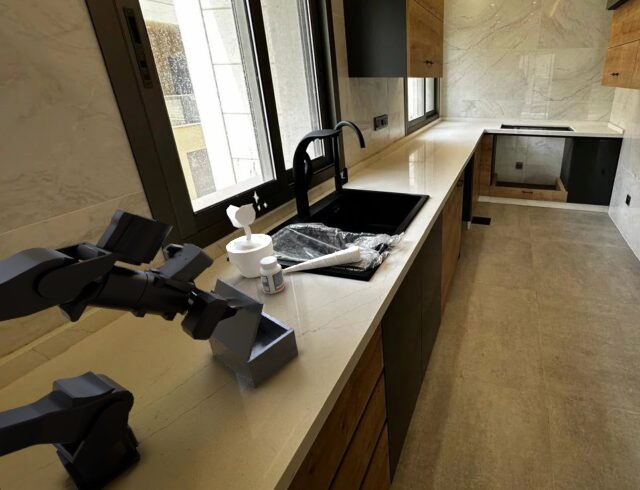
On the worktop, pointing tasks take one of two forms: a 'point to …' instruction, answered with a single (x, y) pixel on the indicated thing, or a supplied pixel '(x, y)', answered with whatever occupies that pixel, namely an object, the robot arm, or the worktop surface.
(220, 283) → the freezer lid
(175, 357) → the worktop surface
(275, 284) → the pill bottle
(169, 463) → the worktop surface
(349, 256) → the unicorn horn
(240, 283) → the worktop surface
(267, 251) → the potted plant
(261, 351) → the box
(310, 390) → the worktop surface
